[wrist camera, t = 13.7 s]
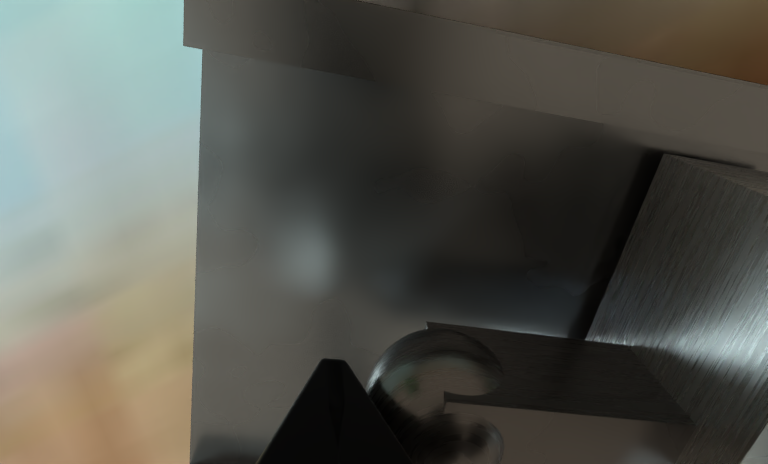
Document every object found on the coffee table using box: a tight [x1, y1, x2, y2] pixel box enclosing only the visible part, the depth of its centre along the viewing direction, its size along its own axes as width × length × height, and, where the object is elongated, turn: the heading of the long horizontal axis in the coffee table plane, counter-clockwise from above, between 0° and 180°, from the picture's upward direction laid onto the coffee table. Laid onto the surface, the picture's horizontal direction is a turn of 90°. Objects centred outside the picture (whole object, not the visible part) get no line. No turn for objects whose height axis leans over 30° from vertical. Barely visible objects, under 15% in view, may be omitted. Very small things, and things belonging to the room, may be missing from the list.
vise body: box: [183, 0, 768, 464], centre depth 10 cm, size 12×20×5 cm, turn 80°
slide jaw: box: [365, 154, 768, 464], centre depth 9 cm, size 9×8×4 cm
